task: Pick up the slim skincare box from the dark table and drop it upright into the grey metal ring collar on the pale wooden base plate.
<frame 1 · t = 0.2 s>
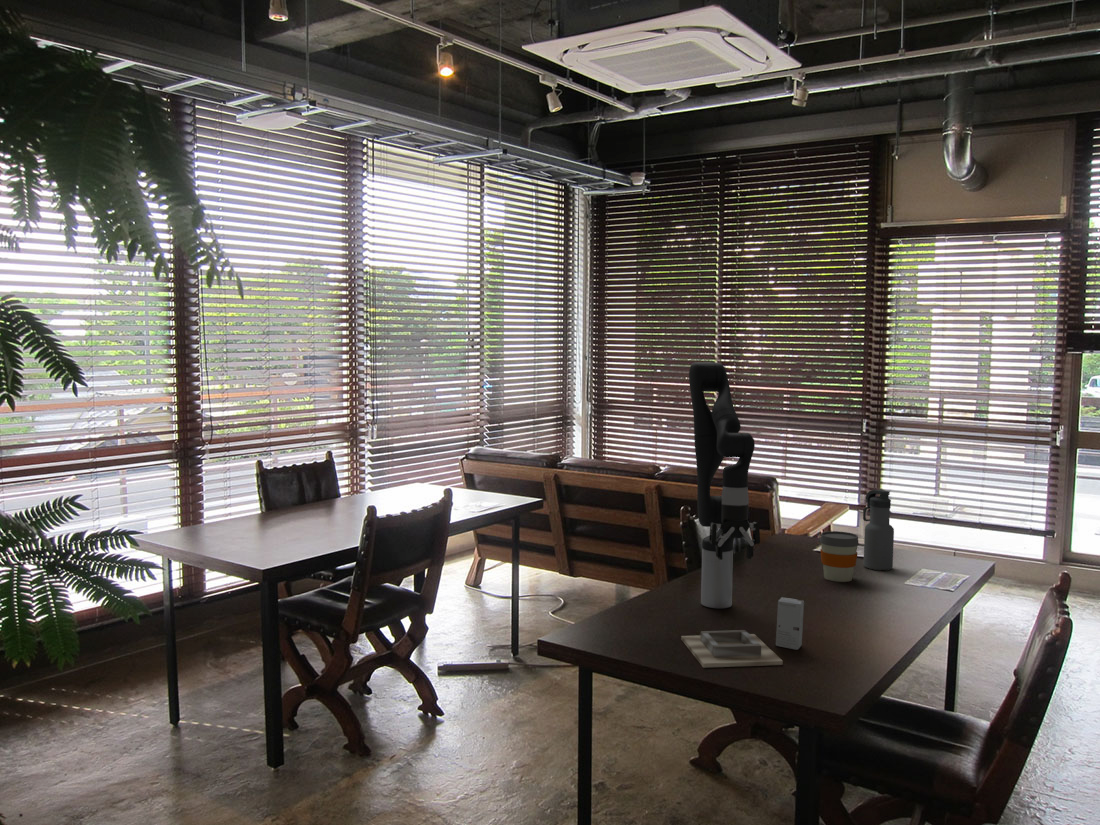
hand: (734, 558, 239), 18 cm above the table, tool pointing down, fingers open, 8 cm apart
water bottle: (877, 568, 301), on the table
reusable coffee cup: (837, 578, 286), on the table
skincare box: (789, 646, 219), on the table
ring holder: (729, 651, 214), on the table
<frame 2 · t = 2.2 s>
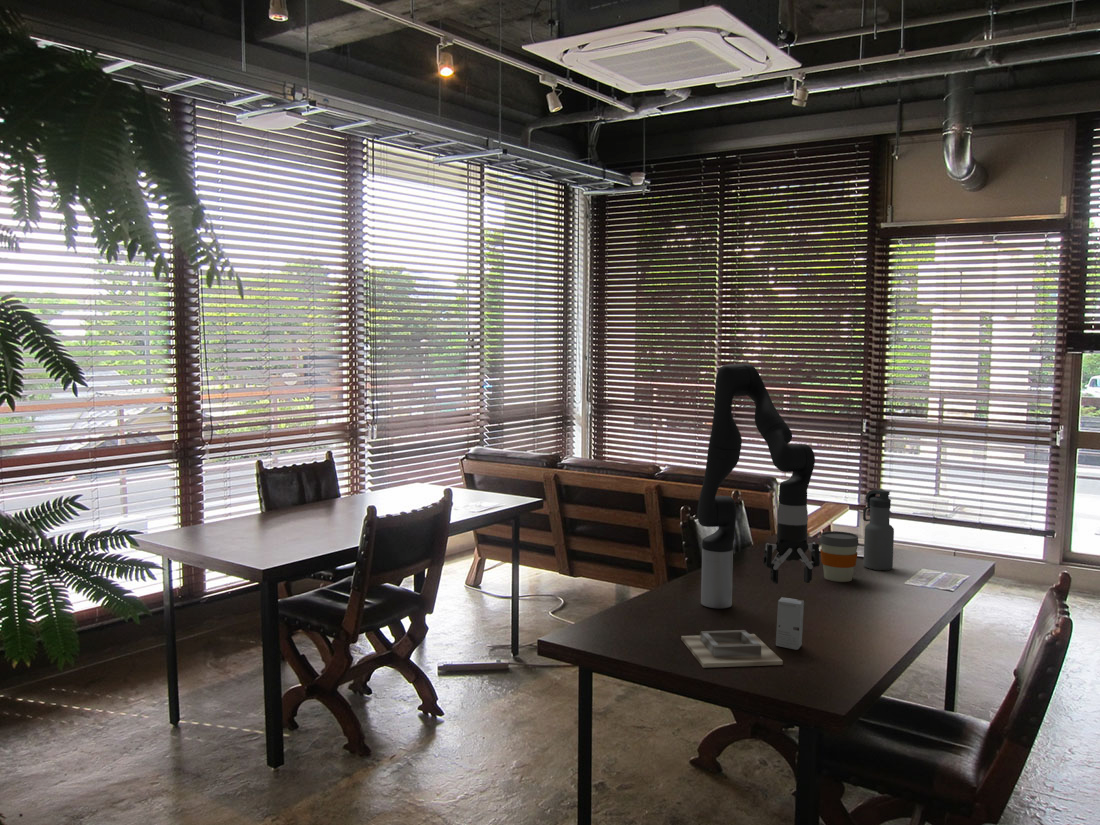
hand: (790, 582, 218), 17 cm above the table, tool pointing down, fingers open, 8 cm apart
nothing on the table moved.
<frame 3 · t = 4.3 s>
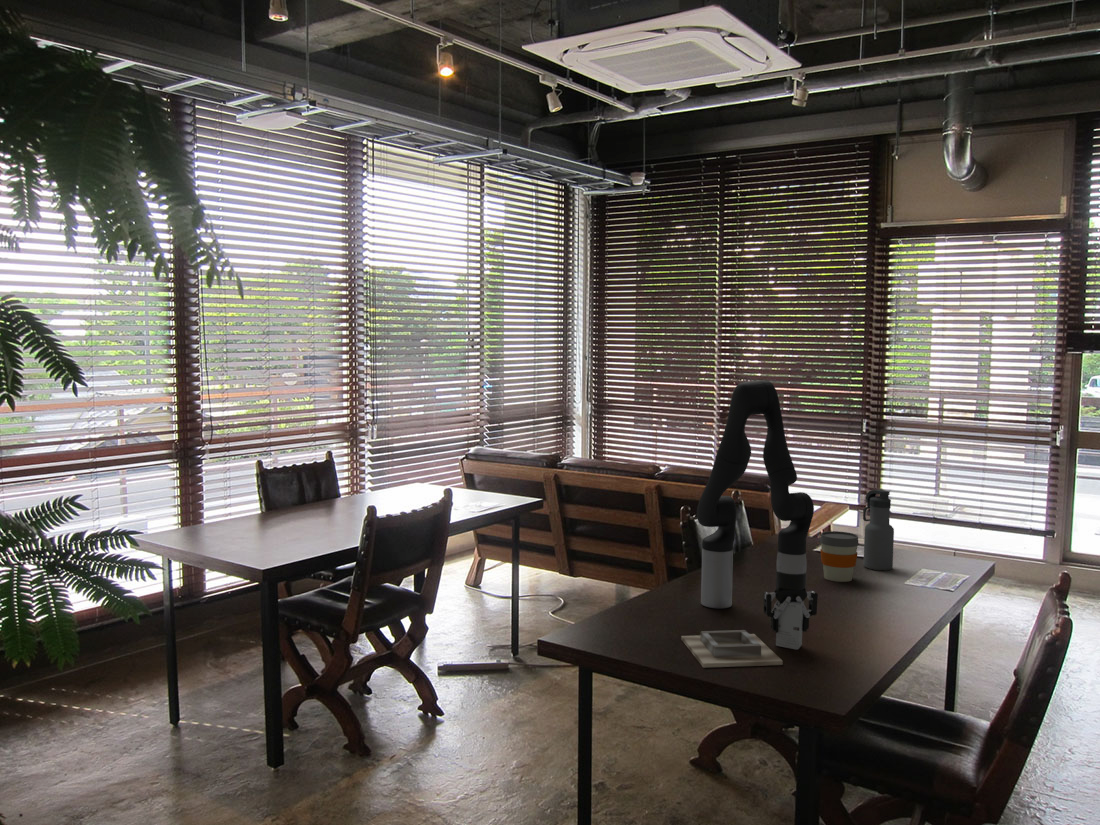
hand: (789, 631, 219), 4 cm above the table, tool pointing down, fingers closed on skincare box, 7 cm apart
skincare box: (789, 646, 219), on the table, touching gripper
everything else where it was.
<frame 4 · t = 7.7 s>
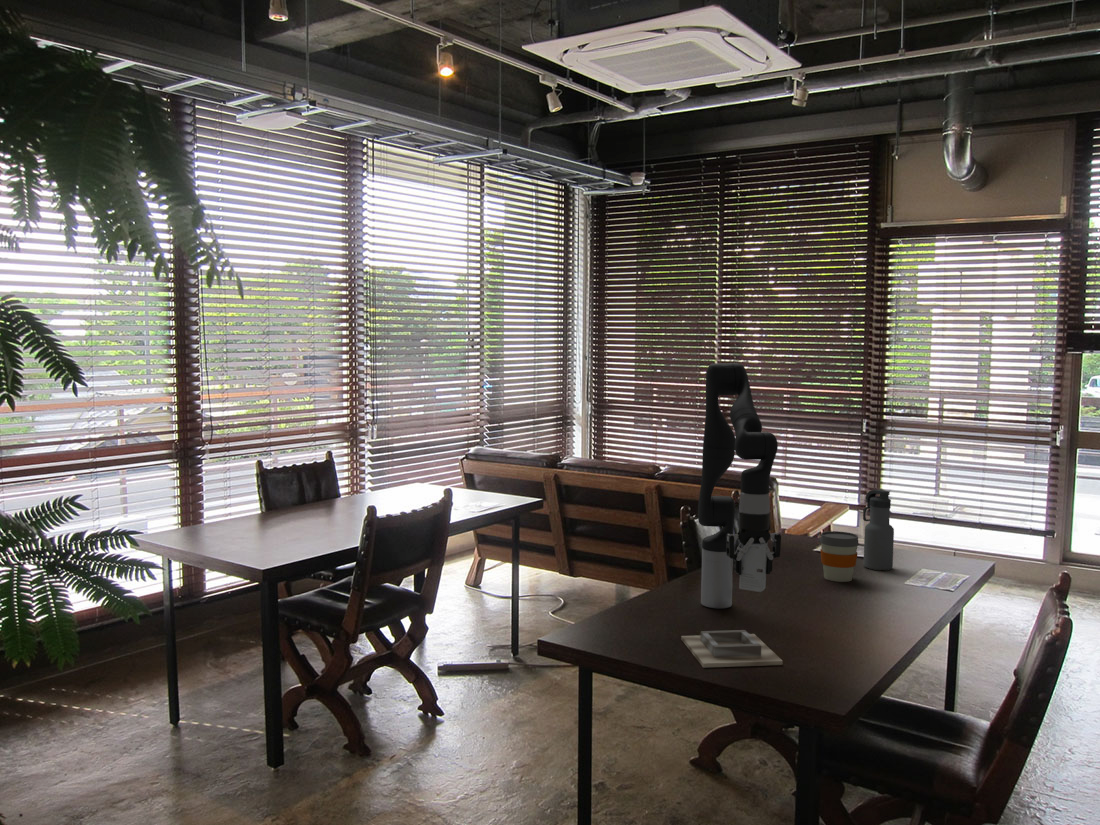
hand: (752, 573, 214), 20 cm above the table, tool pointing down, fingers closed on skincare box, 7 cm apart
skincare box: (752, 589, 214), point 16 cm above the table, touching gripper
everything else where it was.
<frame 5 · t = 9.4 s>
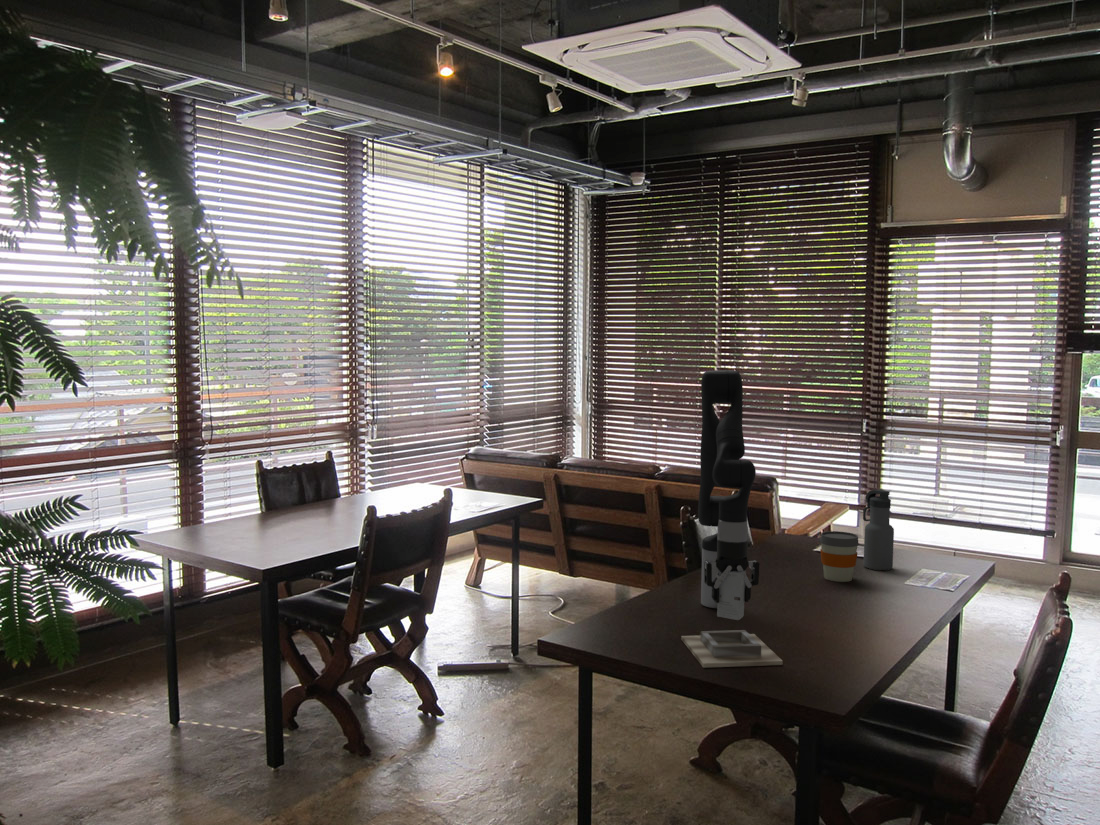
hand: (730, 601, 213), 13 cm above the table, tool pointing down, fingers closed on skincare box, 7 cm apart
skincare box: (730, 617, 214), point 9 cm above the table, touching gripper
everything else where it was.
when the fingers open (9 cm above the table, at t = 11.2 s): skincare box drops 4 cm, resting on ring holder.
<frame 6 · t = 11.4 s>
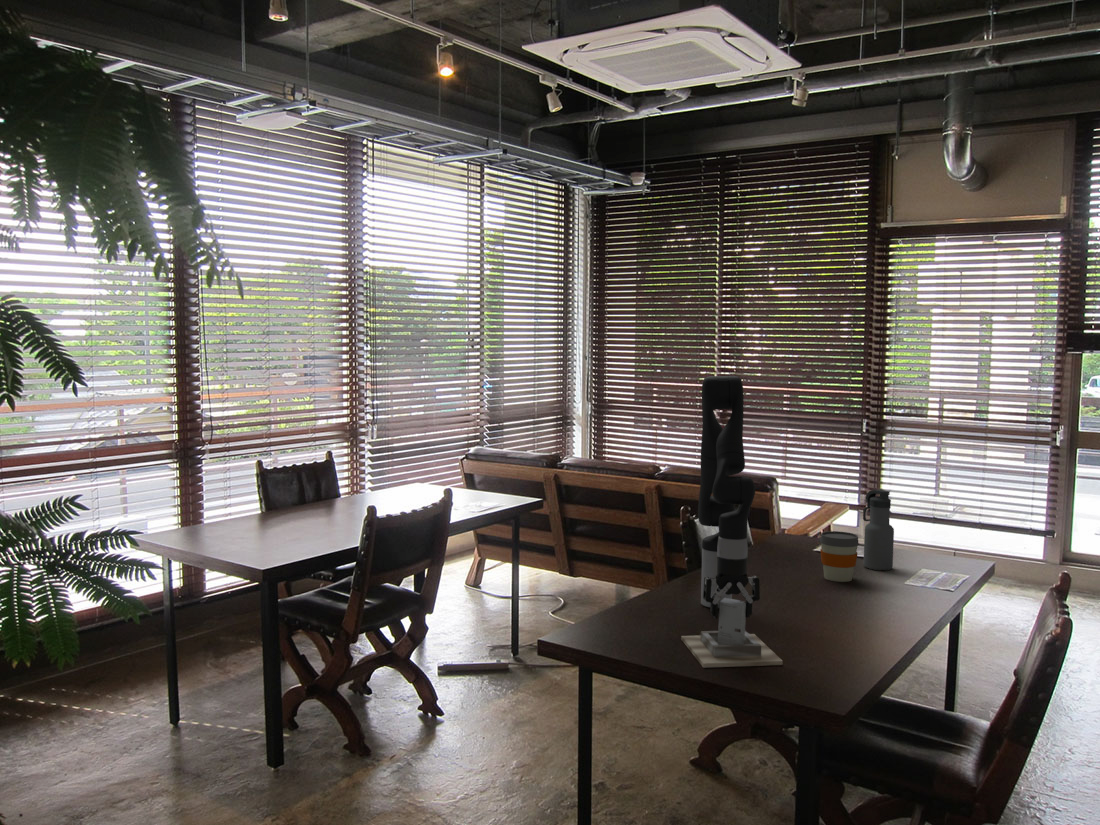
hand: (730, 617, 214), 9 cm above the table, tool pointing down, fingers open, 8 cm apart
skincare box: (731, 648, 214), point 1 cm above the table, touching gripper, ring holder
everything else where it was.
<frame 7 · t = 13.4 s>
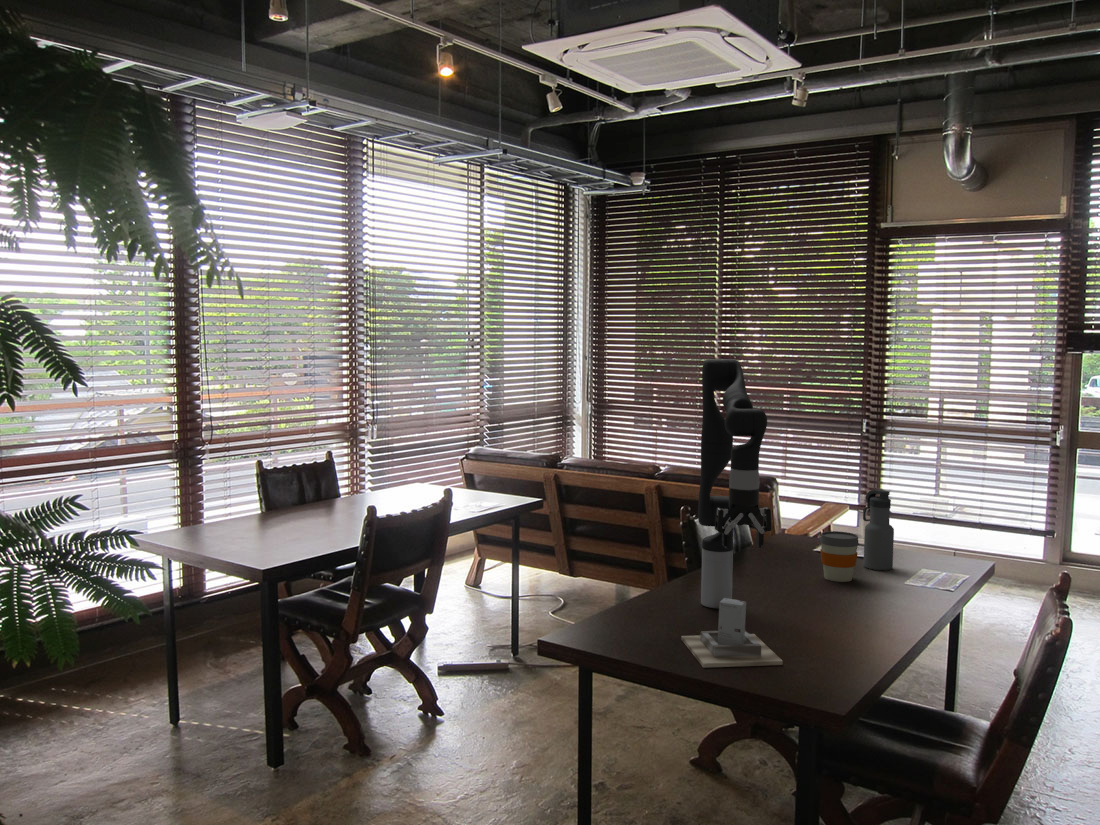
hand: (742, 547, 217), 26 cm above the table, tool pointing down, fingers open, 8 cm apart
skincare box: (731, 648, 214), point 1 cm above the table, touching ring holder
everything else where it was.
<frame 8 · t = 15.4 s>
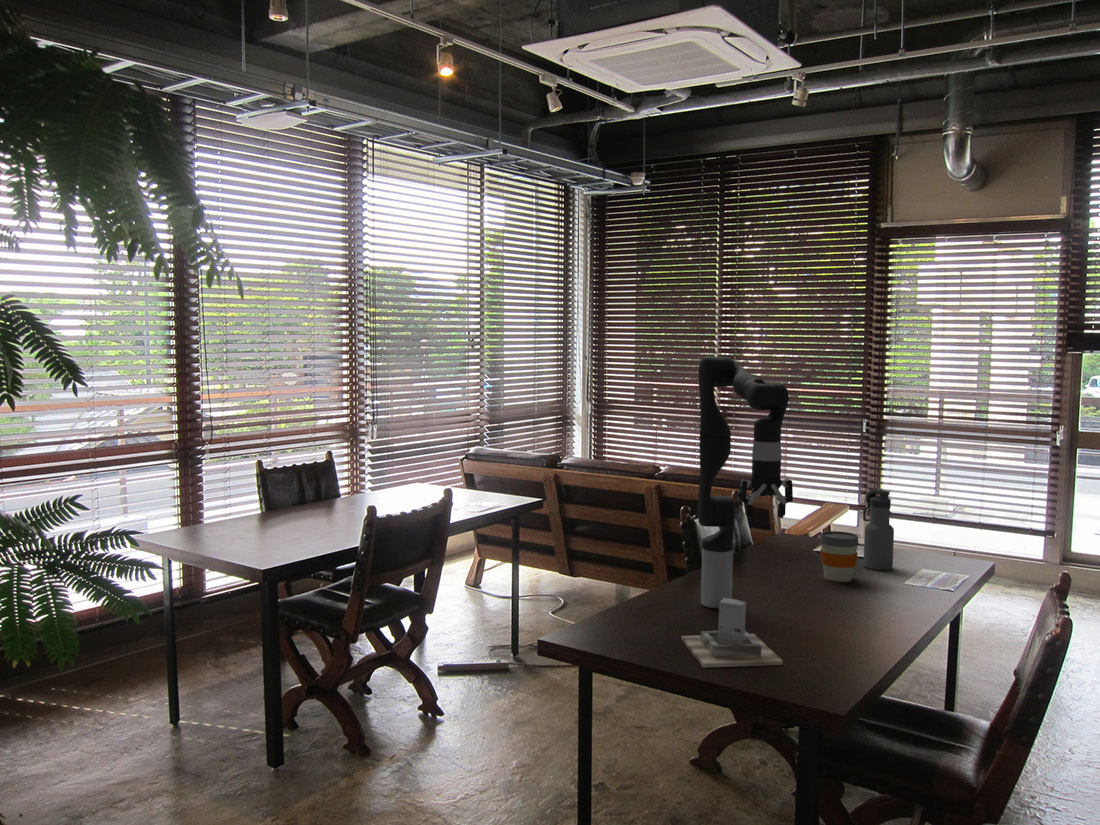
hand: (765, 517, 225), 32 cm above the table, tool pointing down, fingers open, 8 cm apart
nothing on the table moved.
at the end: skincare box 0.4 cm off-centre on the ring holder, point 0.8 cm above the ring holder's base; skincare box tilted 0°; the gripper is holding nothing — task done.
